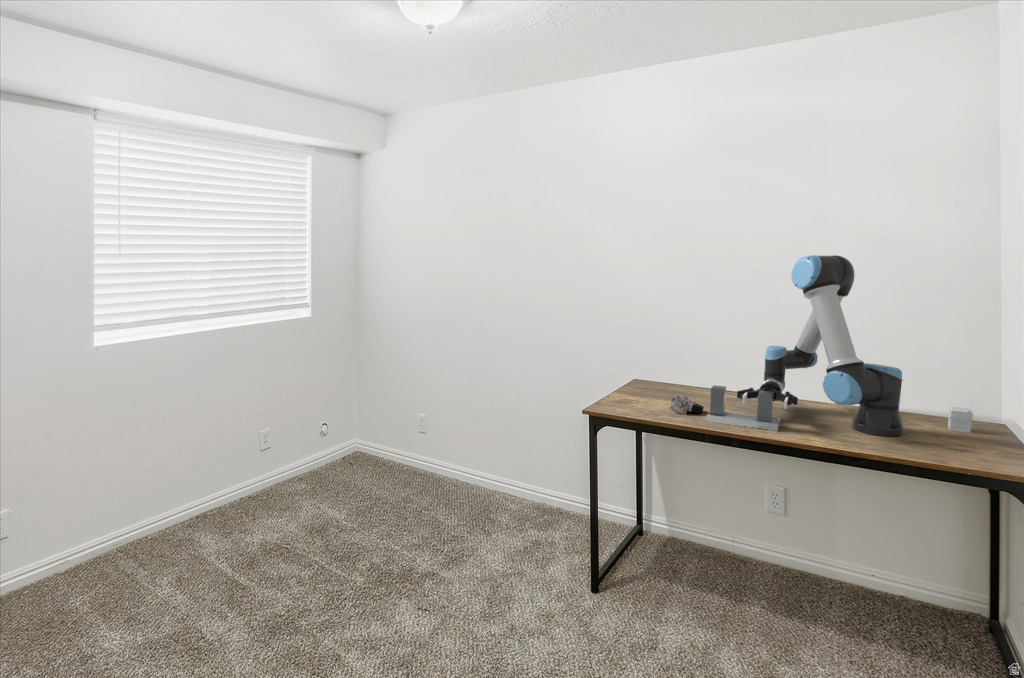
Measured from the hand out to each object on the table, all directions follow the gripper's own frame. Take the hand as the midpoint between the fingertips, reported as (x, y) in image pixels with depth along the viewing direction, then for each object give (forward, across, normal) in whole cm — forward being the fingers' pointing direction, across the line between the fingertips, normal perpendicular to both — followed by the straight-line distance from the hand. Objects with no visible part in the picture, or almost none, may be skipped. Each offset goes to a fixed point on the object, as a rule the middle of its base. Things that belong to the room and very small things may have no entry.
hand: (763, 402), depth 200 cm
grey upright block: (-3, 0, -8) cm, 9 cm away
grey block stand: (-3, +7, -10) cm, 12 cm away
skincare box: (-33, -60, -10) cm, 69 cm away
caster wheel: (-9, +28, -10) cm, 31 cm away
